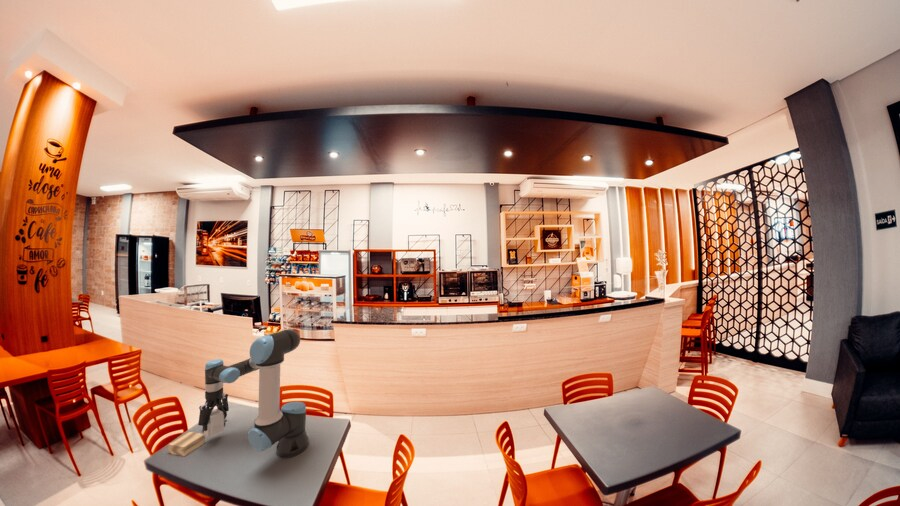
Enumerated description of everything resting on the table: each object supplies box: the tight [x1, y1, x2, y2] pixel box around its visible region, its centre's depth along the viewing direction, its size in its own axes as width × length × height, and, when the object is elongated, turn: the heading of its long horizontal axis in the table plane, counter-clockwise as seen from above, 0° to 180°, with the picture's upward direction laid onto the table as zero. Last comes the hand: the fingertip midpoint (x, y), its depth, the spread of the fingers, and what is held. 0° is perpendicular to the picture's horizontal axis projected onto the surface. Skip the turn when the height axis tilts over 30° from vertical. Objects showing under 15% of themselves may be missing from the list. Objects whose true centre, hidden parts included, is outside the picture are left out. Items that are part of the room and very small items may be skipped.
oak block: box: [167, 431, 206, 457], centre depth 145 cm, size 10×10×5 cm
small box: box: [208, 408, 225, 437], centre depth 150 cm, size 8×6×10 cm
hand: (214, 430), depth 150 cm, fingers closed on small box, 7 cm apart
